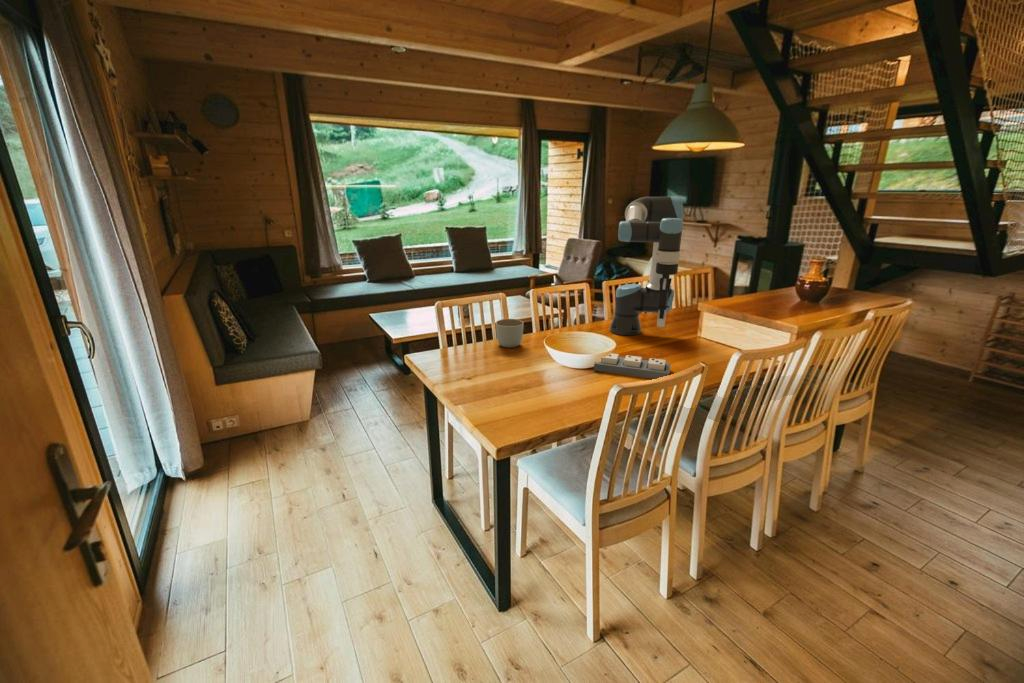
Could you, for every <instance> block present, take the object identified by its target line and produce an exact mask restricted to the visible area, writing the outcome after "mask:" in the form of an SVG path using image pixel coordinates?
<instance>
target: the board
mask: <svg viewBox="0 0 1024 683" xmlns="http://www.w3.org/2000/svg"><path fill="white" fill-rule="evenodd" d="M624 359H625V356H624V357H623V356H619V357H618V362H617V364H609V363H601V362H596V361H594V364H593V371H594V372H603V373H610V374H616V375H623V376H624V375H625V376H630V377H631V376H632V377H639V378H646V379H653V380H655V379H654V378H659V377H663V376H667V375H669V376H670V372H671V366H672V364H671V363H670V362H665V368H664V371H663V370H655V369H648V362H649V359H648V360H647V359H642V360H641V365H640V367H632V366H624Z"/></svg>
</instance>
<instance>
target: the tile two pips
mask: <svg viewBox="0 0 1024 683" xmlns="http://www.w3.org/2000/svg"><path fill="white" fill-rule="evenodd" d="M624 358H625V359H624V366H632V367H640V365H641V360H643V358H642V356H637V355H636V356H635V355H630V354H629V355H628V354H626V355H625V356H624Z"/></svg>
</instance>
